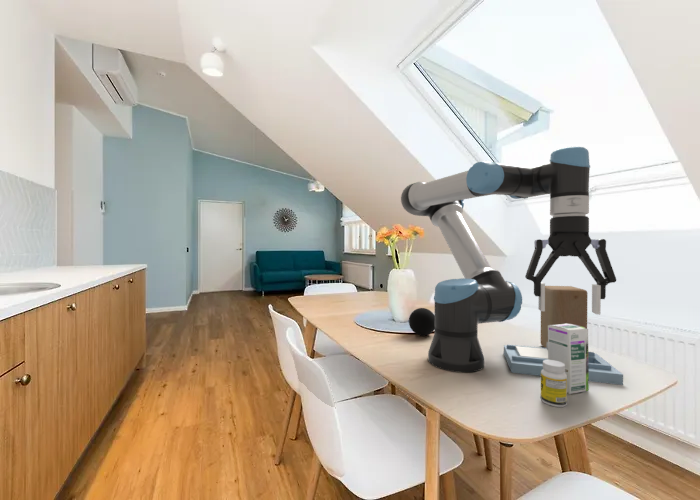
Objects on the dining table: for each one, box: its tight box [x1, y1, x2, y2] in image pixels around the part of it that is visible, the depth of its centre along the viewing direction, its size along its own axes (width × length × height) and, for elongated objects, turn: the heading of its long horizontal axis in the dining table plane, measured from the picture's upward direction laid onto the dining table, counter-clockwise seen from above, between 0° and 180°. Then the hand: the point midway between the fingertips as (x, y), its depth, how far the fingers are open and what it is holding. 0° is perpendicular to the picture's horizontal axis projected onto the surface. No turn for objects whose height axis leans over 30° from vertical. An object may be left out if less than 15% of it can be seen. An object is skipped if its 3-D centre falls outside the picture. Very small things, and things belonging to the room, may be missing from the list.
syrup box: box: [548, 323, 590, 395], centre depth 76 cm, size 6×6×14 cm
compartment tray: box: [503, 343, 624, 386], centre depth 89 cm, size 24×16×4 cm, turn 71°
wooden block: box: [540, 285, 588, 348], centre depth 103 cm, size 10×10×20 cm
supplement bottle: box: [540, 360, 568, 408], centre depth 69 cm, size 5×5×8 cm
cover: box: [515, 342, 548, 359], centre depth 90 cm, size 10×9×3 cm
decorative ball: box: [408, 307, 435, 336], centre depth 121 cm, size 10×10×10 cm
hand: (568, 311), depth 76 cm, fingers open, 10 cm apart
